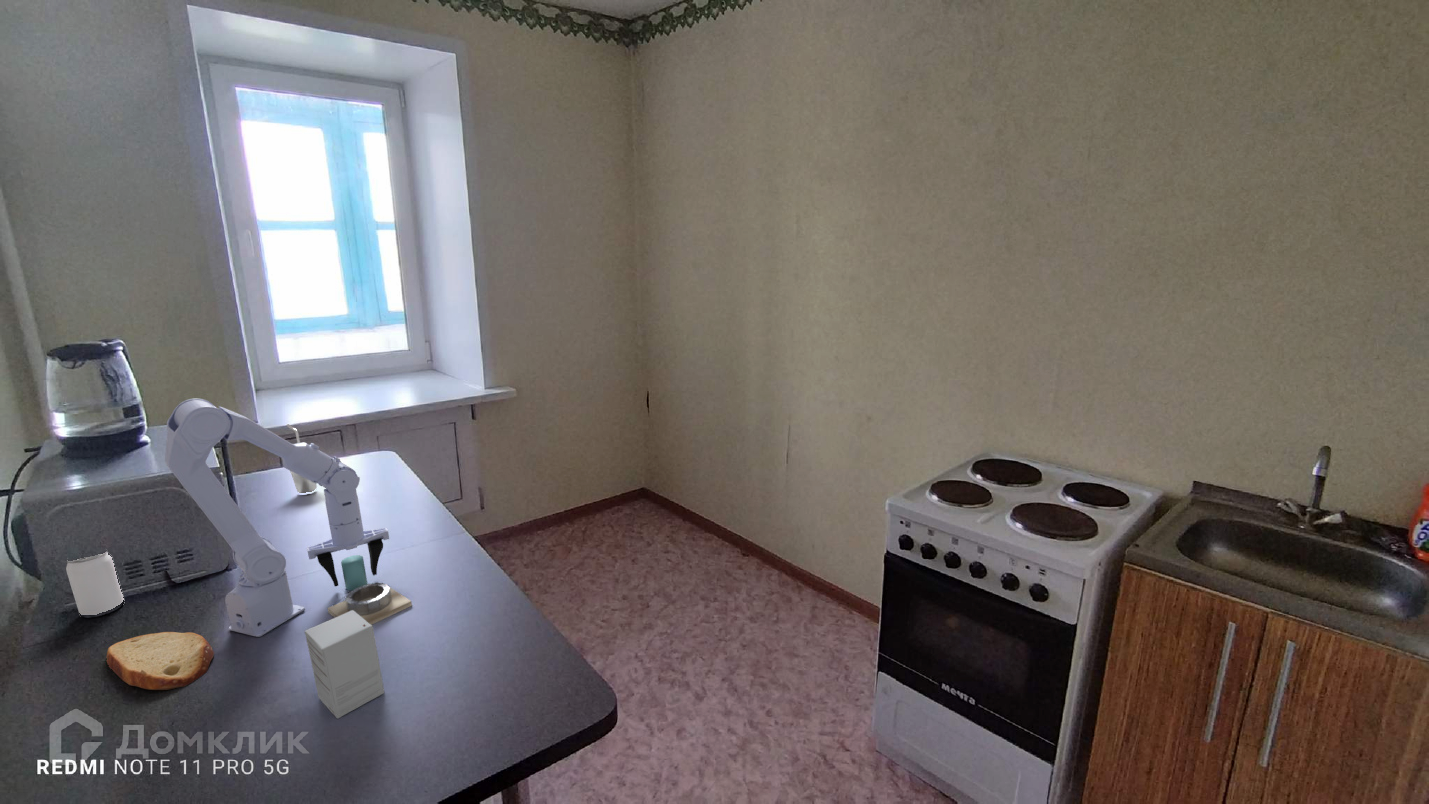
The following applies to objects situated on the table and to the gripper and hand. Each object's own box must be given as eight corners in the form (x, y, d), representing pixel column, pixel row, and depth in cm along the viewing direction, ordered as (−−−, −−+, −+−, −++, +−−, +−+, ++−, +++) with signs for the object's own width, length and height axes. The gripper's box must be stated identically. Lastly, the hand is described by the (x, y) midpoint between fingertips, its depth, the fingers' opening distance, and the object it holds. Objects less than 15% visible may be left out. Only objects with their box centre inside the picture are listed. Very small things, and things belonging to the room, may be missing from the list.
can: (134, 601, 126) (119, 547, 123) (100, 620, 119) (84, 564, 116) (105, 599, 126) (90, 546, 123) (70, 618, 120) (53, 563, 117)
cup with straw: (288, 501, 174) (275, 433, 169) (291, 490, 182) (279, 424, 177) (323, 494, 178) (311, 428, 173) (325, 484, 186) (314, 420, 181)
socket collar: (369, 618, 118) (367, 607, 117) (338, 611, 120) (336, 600, 119) (399, 597, 124) (397, 586, 124) (370, 591, 127) (368, 580, 126)
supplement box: (366, 674, 104) (354, 608, 101) (385, 694, 99) (374, 625, 96) (317, 699, 98) (303, 629, 95) (335, 720, 94) (321, 648, 91)
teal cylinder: (356, 592, 128) (351, 566, 127) (341, 588, 130) (336, 563, 128) (371, 582, 132) (367, 556, 131) (357, 579, 133) (352, 554, 132)
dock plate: (411, 605, 123) (411, 601, 123) (354, 632, 115) (353, 628, 115) (384, 587, 130) (384, 583, 130) (328, 612, 121) (327, 608, 121)
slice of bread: (117, 648, 112) (111, 630, 111) (236, 625, 118) (232, 608, 117) (57, 717, 96) (50, 696, 95) (199, 686, 102) (194, 667, 101)
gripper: (305, 536, 120) (317, 598, 123) (387, 516, 128) (397, 575, 132) (302, 523, 125) (313, 583, 129) (381, 505, 134) (390, 562, 137)
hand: (355, 578), depth 130 cm, fingers open, 6 cm apart
